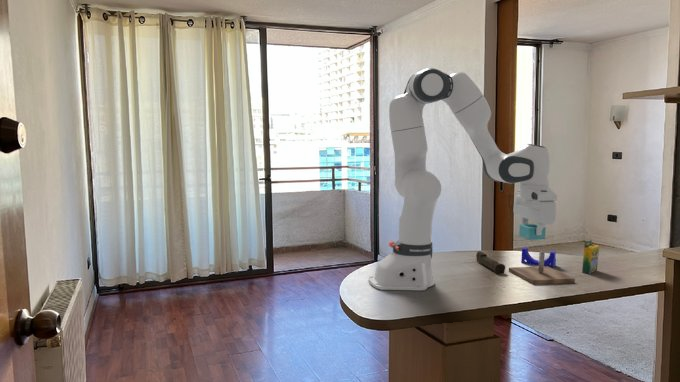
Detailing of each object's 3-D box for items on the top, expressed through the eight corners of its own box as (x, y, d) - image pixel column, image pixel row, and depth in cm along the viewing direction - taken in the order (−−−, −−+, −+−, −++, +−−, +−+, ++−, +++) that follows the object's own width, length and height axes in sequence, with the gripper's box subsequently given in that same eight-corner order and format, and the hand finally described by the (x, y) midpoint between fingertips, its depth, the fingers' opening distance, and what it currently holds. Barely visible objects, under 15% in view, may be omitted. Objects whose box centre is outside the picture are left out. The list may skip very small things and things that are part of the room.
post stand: (532, 284, 168) (534, 257, 167) (508, 271, 183) (510, 246, 182) (574, 282, 170) (576, 256, 169) (547, 270, 186) (549, 245, 185)
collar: (528, 239, 164) (529, 228, 163) (519, 236, 170) (519, 224, 169) (545, 239, 165) (545, 227, 164) (535, 235, 171) (535, 224, 170)
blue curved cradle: (555, 266, 193) (556, 251, 192) (553, 268, 189) (554, 253, 189) (524, 261, 200) (524, 246, 199) (521, 263, 196) (522, 248, 195)
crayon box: (590, 274, 181) (592, 243, 180) (581, 272, 184) (583, 242, 182) (597, 270, 186) (600, 240, 185) (589, 269, 188) (591, 239, 187)
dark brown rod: (505, 274, 180) (506, 262, 180) (495, 274, 180) (495, 262, 179) (483, 261, 199) (483, 250, 198) (473, 261, 198) (474, 250, 198)
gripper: (509, 189, 175) (508, 227, 177) (542, 196, 155) (540, 239, 157) (525, 188, 176) (524, 226, 178) (560, 196, 156) (558, 238, 158)
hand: (532, 232), depth 167 cm, fingers closed on collar, 6 cm apart
